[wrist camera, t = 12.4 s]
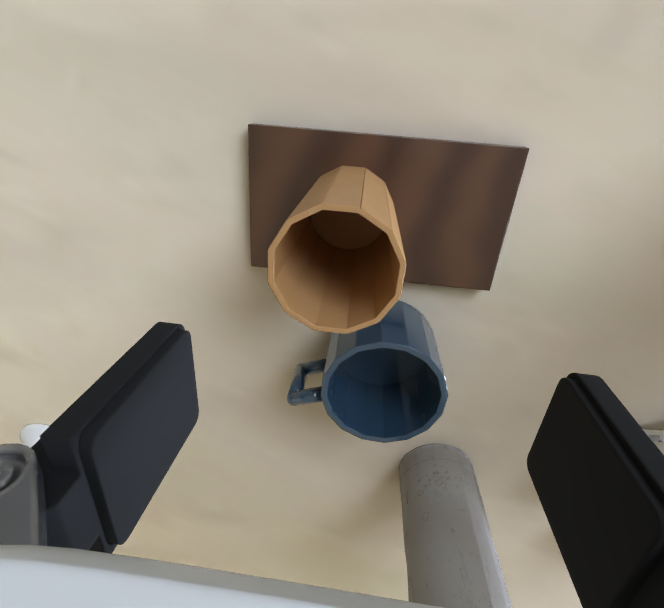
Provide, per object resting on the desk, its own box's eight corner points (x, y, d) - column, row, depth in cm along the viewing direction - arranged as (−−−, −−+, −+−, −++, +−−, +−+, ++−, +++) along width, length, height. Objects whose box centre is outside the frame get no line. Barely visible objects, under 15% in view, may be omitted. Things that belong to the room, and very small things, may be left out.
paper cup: (398, 170, 29) (415, 212, 17) (386, 255, 32) (393, 339, 20) (309, 162, 29) (267, 198, 18) (305, 247, 32) (267, 325, 21)
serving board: (523, 146, 28) (529, 148, 27) (485, 285, 33) (489, 290, 32) (252, 123, 30) (248, 124, 28) (254, 261, 34) (251, 266, 33)
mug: (423, 287, 34) (435, 331, 27) (441, 376, 38) (455, 433, 31) (283, 317, 37) (263, 363, 30) (313, 397, 41) (301, 454, 34)
